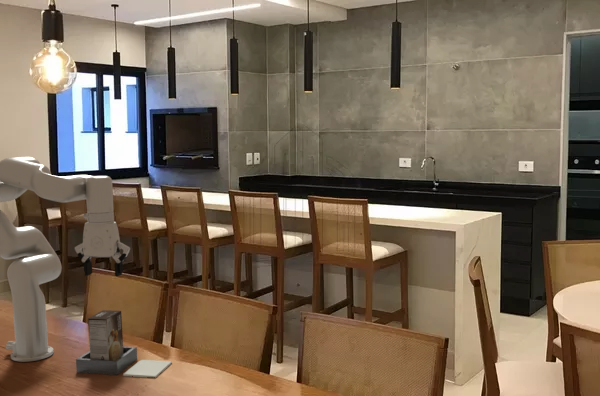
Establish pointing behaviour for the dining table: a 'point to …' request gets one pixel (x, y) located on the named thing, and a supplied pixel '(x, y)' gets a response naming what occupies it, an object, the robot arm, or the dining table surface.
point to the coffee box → (106, 335)
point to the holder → (106, 363)
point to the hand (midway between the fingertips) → (103, 275)
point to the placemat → (147, 368)
